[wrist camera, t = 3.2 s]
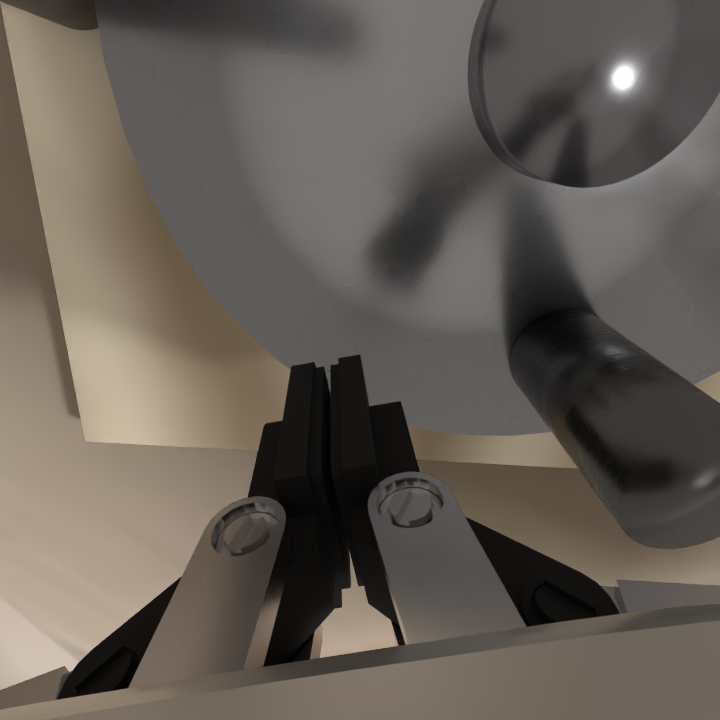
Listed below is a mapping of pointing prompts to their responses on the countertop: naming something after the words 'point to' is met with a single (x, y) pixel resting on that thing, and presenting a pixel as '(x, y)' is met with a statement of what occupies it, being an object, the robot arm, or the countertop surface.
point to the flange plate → (459, 212)
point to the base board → (155, 274)
